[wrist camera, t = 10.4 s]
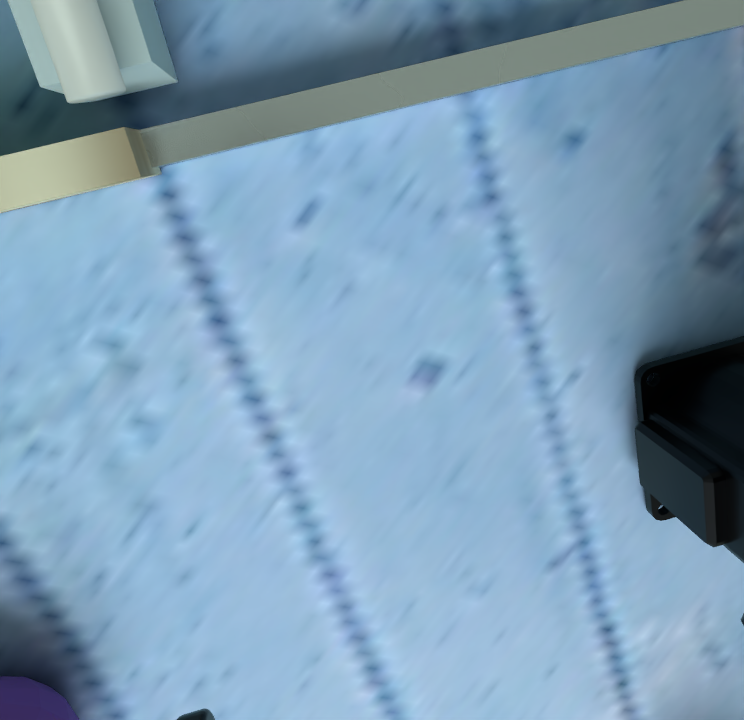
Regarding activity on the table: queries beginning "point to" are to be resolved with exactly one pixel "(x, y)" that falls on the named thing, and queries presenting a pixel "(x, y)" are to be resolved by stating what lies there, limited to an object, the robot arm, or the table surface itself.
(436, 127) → the table surface
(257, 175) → the table surface
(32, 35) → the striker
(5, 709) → the maraca
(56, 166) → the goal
